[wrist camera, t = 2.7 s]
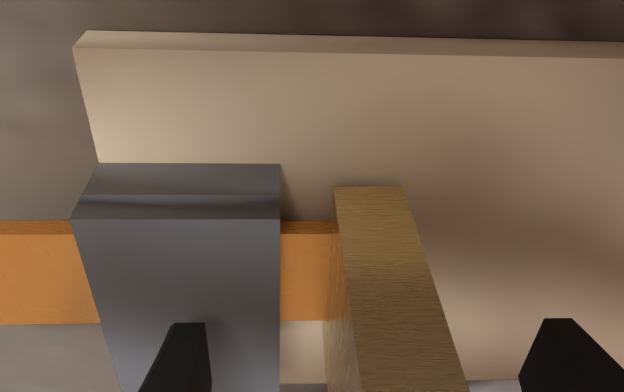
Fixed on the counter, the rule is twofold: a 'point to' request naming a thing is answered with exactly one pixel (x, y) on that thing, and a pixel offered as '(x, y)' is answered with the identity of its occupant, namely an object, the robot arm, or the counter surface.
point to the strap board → (348, 172)
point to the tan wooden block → (289, 290)
